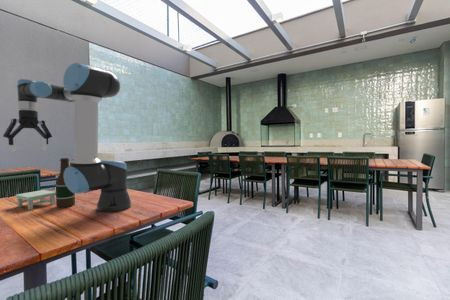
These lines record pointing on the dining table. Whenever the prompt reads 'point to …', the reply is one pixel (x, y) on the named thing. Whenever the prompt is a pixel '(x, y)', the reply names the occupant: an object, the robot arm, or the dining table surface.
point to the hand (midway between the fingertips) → (29, 151)
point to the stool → (35, 198)
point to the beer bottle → (63, 188)
